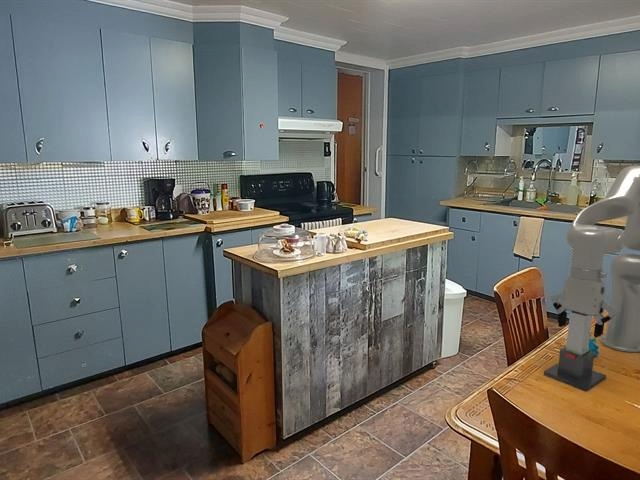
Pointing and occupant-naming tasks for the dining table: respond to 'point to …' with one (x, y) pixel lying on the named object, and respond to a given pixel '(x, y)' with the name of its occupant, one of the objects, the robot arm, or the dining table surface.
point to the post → (578, 333)
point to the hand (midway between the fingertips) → (579, 331)
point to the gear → (593, 346)
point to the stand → (575, 370)
